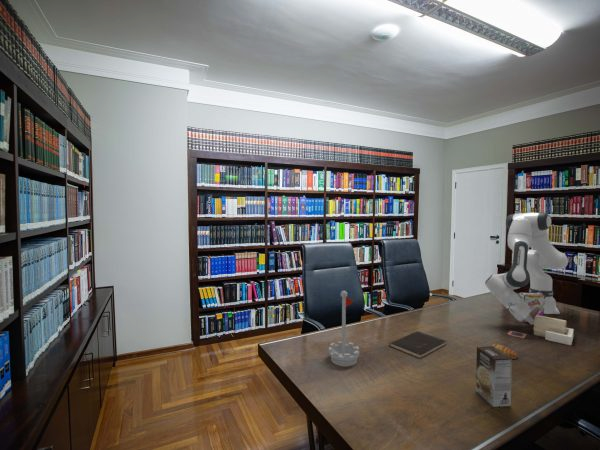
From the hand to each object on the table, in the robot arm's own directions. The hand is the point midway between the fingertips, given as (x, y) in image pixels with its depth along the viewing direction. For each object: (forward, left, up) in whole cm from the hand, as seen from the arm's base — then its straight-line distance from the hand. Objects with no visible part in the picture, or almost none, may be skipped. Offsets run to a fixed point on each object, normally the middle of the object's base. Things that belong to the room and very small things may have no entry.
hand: (533, 323), depth 158 cm
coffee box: (+81, -1, -5) cm, 81 cm away
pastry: (+40, -6, -5) cm, 41 cm away
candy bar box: (-19, -4, -5) cm, 20 cm away
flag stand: (+95, -53, -5) cm, 109 cm away
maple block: (0, +7, -5) cm, 8 cm away
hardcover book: (+58, -36, -5) cm, 69 cm away
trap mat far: (-9, +2, -5) cm, 10 cm away
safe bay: (0, +10, -5) cm, 11 cm away
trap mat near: (+9, -6, -5) cm, 12 cm away
